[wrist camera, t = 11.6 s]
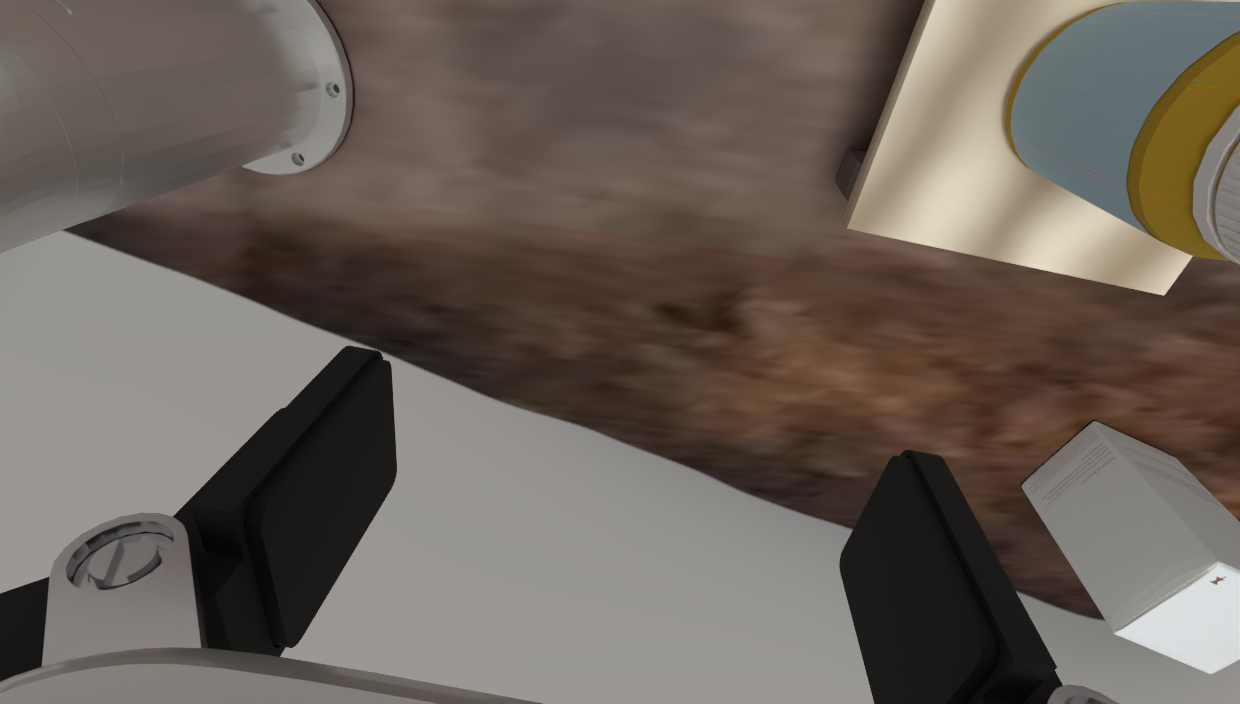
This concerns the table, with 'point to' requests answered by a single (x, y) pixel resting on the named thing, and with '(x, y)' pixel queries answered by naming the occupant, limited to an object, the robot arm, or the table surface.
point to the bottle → (1141, 118)
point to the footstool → (986, 155)
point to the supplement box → (1145, 544)
